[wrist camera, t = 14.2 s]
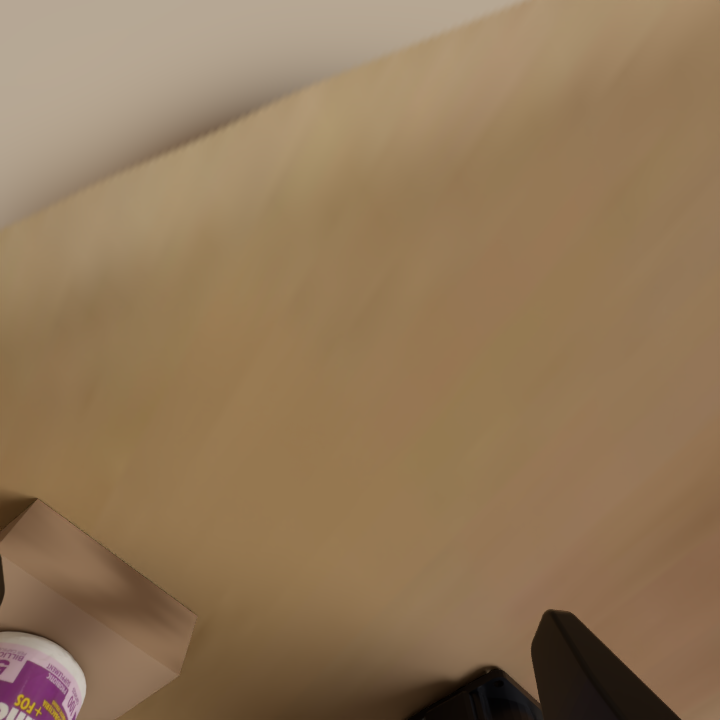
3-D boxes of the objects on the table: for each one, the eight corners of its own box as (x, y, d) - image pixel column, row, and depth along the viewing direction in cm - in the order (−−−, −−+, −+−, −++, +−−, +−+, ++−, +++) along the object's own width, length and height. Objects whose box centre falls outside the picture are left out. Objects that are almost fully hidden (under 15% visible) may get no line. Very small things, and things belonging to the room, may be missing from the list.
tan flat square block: (197, 616, 25) (179, 675, 22) (75, 703, 27) (45, 768, 24) (37, 498, 22) (-6, 550, 19) (-85, 606, 24) (-140, 666, 22)
